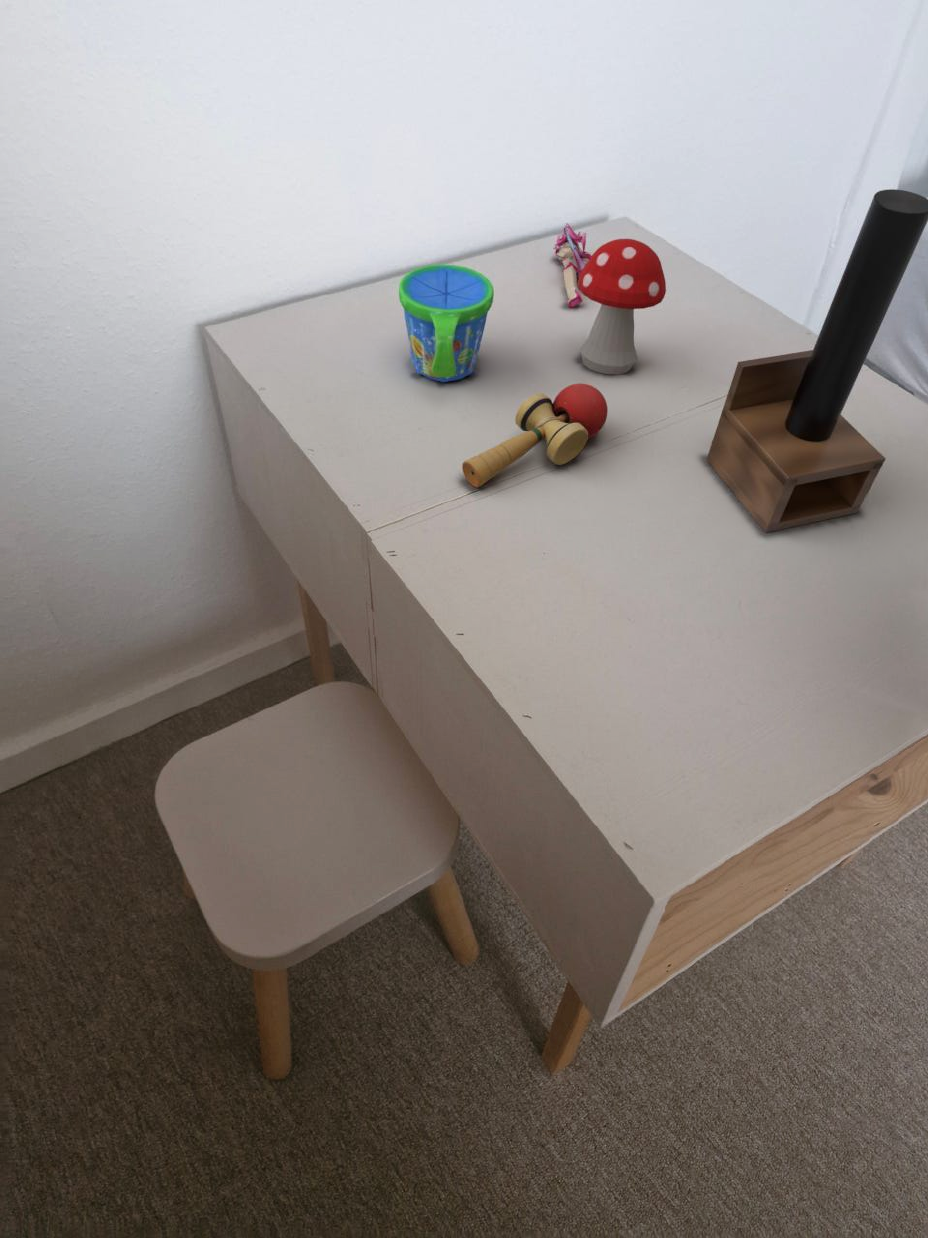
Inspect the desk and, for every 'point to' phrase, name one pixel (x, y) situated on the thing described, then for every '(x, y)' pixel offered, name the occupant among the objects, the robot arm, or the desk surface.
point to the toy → (571, 261)
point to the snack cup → (445, 318)
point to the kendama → (545, 430)
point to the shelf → (787, 451)
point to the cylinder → (857, 311)
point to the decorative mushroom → (619, 301)
